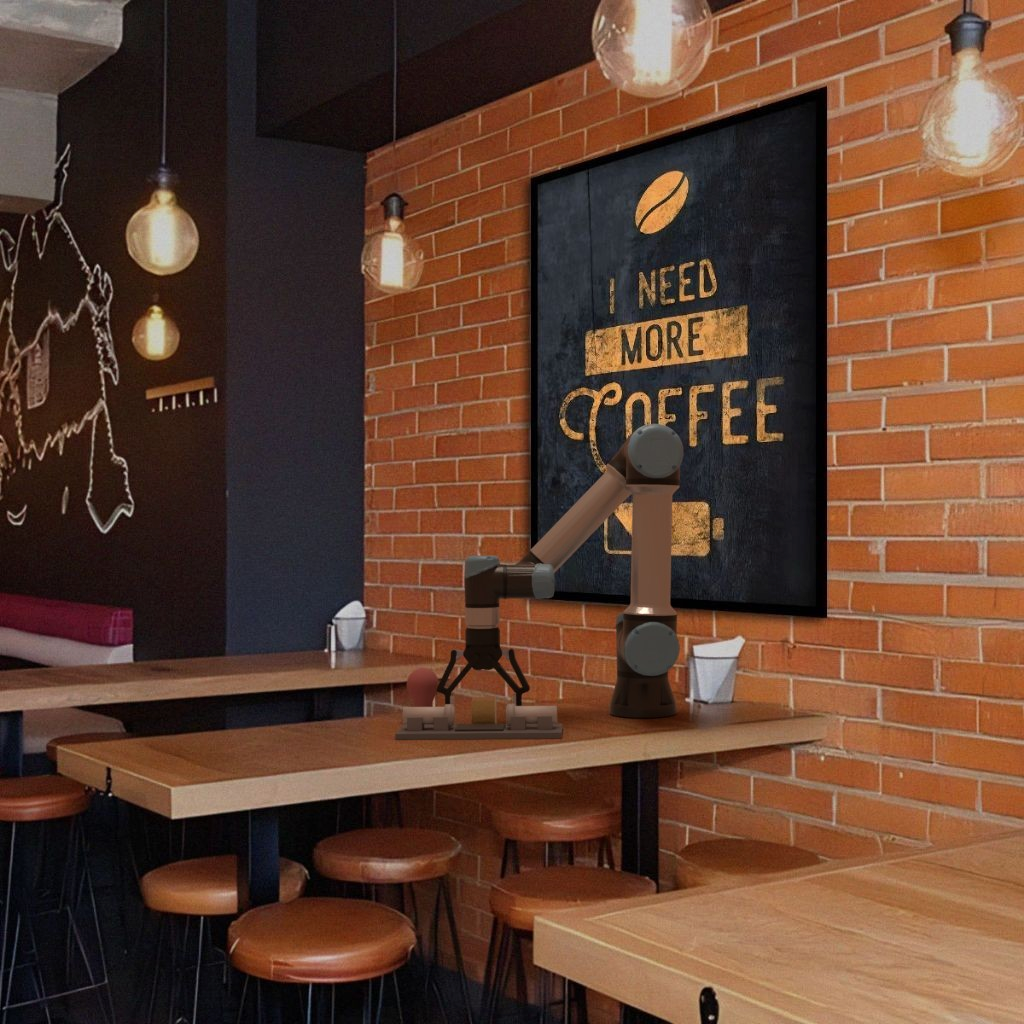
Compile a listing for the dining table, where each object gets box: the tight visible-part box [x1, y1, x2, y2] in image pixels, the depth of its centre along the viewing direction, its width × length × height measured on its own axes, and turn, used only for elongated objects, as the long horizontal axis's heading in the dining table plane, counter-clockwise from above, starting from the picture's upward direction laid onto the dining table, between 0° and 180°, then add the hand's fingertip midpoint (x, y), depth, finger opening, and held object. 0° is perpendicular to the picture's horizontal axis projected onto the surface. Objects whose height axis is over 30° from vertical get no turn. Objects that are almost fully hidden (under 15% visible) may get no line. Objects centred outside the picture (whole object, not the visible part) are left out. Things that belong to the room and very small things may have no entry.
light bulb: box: [406, 667, 440, 707], centre depth 296 cm, size 7×7×12 cm
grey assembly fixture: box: [394, 703, 563, 741], centre depth 278 cm, size 34×12×6 cm, turn 87°
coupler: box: [470, 696, 498, 724], centre depth 289 cm, size 5×6×6 cm
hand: (483, 725), depth 289 cm, fingers open, 13 cm apart
